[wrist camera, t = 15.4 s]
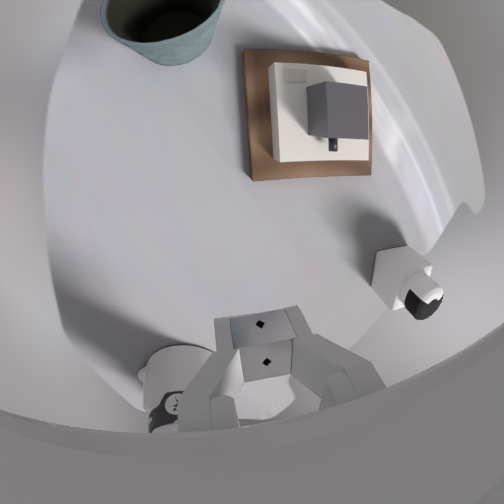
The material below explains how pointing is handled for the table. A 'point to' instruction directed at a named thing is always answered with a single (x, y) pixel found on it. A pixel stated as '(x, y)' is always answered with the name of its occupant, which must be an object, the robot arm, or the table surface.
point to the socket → (295, 113)
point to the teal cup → (162, 27)
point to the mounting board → (261, 116)
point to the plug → (337, 112)
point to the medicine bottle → (406, 282)
